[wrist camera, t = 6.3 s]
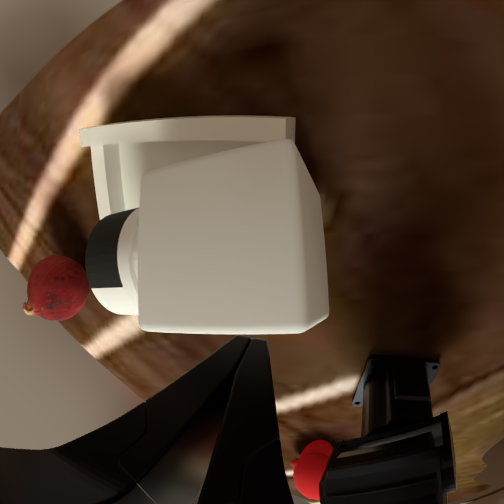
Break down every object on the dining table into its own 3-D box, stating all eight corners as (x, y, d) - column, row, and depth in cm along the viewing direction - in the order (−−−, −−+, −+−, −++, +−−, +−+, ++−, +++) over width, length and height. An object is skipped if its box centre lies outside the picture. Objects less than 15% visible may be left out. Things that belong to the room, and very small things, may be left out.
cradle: (285, 287, 22) (275, 317, 19) (128, 261, 25) (103, 281, 22) (295, 117, 17) (285, 118, 14) (112, 123, 20) (79, 129, 17)
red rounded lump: (99, 246, 25) (35, 293, 18) (109, 299, 28) (58, 350, 21) (58, 237, 26) (-1, 275, 19) (70, 286, 29) (20, 328, 22)
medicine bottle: (320, 192, 18) (150, 220, 22) (292, 133, 11) (74, 193, 15) (330, 318, 16) (150, 320, 20) (307, 334, 10) (69, 325, 14)
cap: (347, 487, 28) (353, 496, 24) (301, 499, 29) (299, 510, 24) (334, 434, 33) (338, 434, 28) (288, 446, 33) (284, 448, 28)
